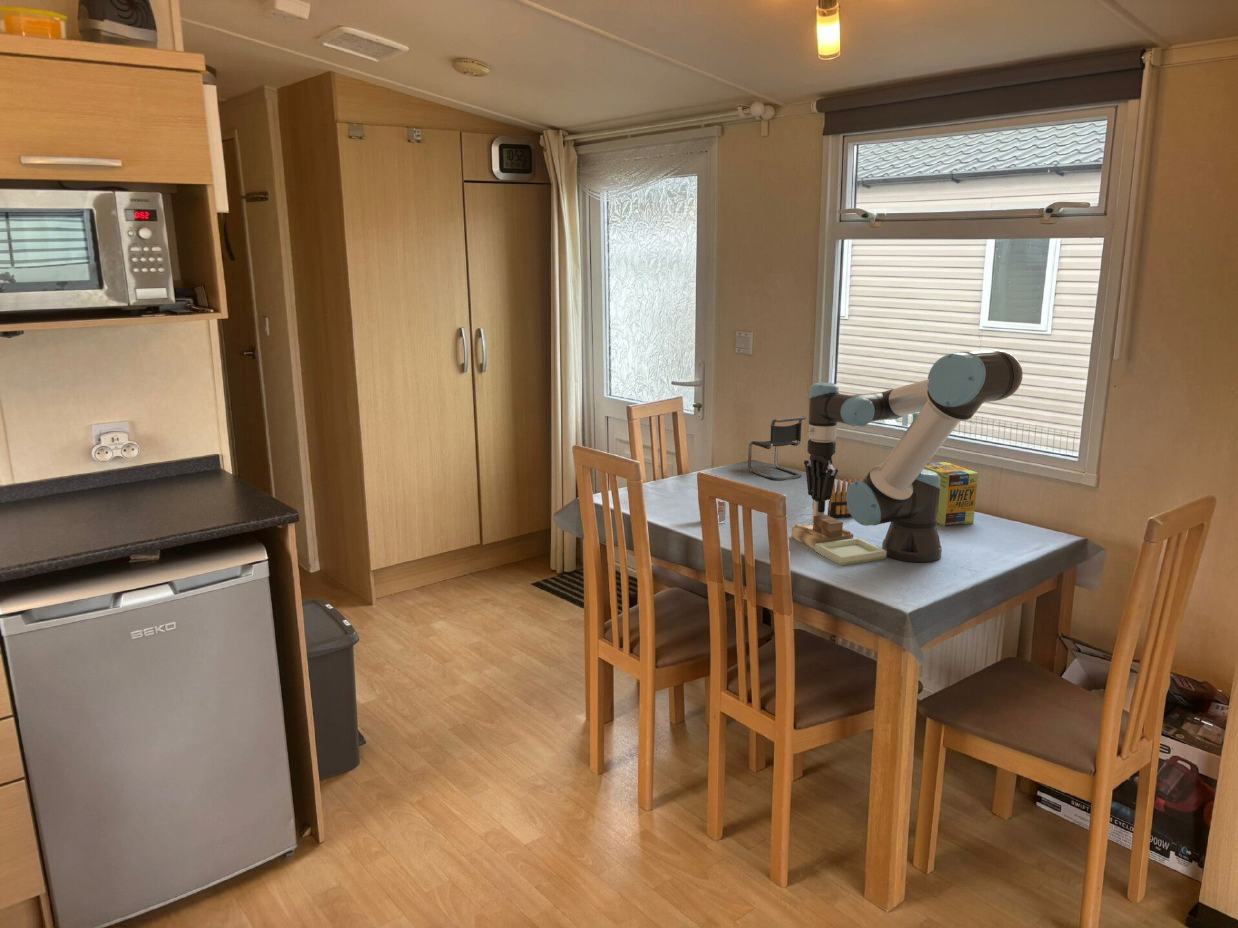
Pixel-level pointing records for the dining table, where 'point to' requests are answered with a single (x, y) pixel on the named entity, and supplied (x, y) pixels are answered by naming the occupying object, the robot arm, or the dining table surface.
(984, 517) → the dining table surface
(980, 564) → the dining table surface
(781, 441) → the chair
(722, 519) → the tea bag
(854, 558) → the sage tray
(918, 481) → the robot arm
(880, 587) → the dining table surface
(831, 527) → the walnut block front
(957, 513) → the protein box
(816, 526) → the walnut block rear
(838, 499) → the ammunition clip
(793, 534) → the slot board
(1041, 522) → the dining table surface
